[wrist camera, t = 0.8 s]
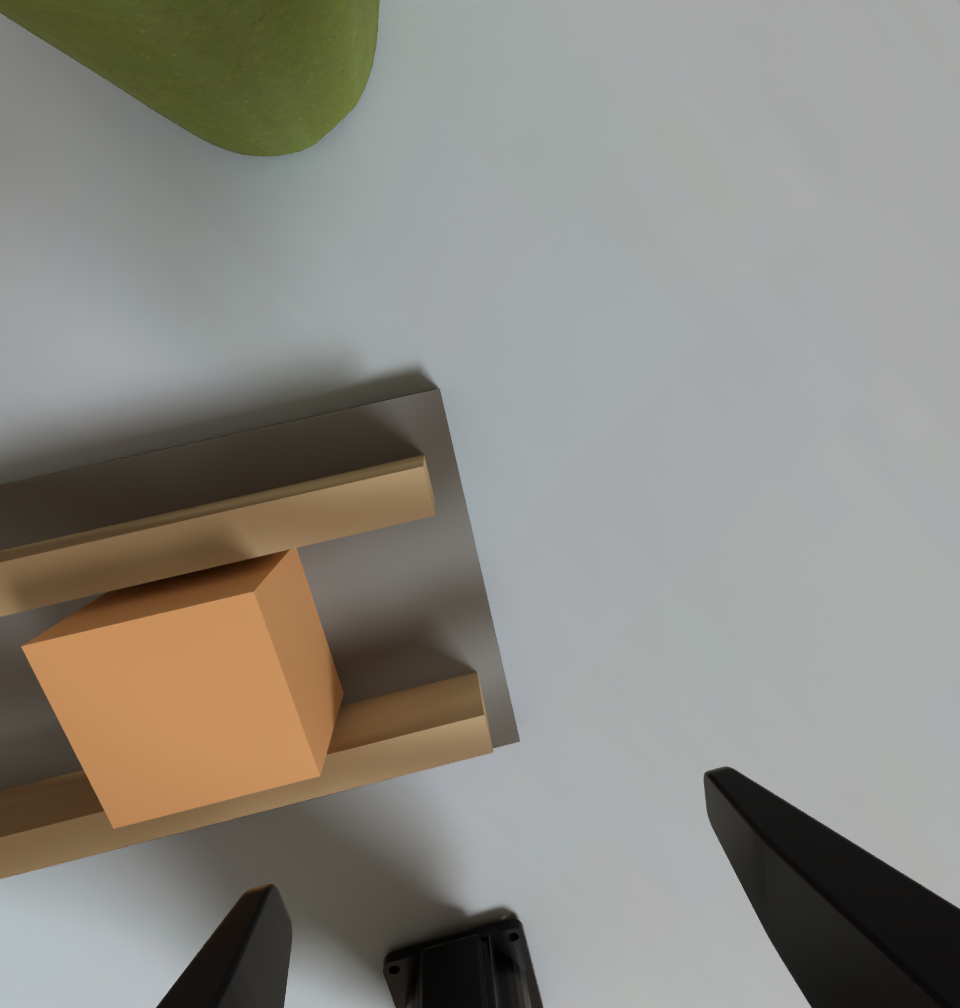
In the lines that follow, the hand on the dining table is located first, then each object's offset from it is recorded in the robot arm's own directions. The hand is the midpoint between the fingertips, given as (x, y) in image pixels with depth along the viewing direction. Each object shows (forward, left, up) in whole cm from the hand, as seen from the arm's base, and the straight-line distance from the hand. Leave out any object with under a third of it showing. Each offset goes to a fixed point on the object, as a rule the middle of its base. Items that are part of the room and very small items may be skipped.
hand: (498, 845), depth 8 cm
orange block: (0, +8, -10) cm, 13 cm away
